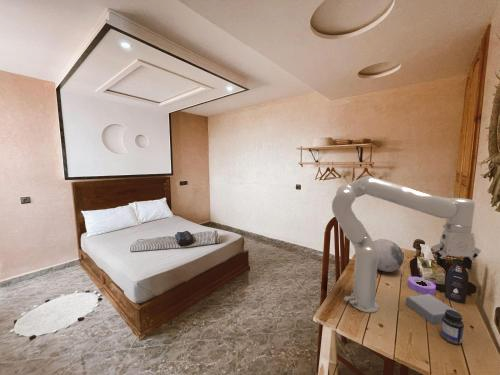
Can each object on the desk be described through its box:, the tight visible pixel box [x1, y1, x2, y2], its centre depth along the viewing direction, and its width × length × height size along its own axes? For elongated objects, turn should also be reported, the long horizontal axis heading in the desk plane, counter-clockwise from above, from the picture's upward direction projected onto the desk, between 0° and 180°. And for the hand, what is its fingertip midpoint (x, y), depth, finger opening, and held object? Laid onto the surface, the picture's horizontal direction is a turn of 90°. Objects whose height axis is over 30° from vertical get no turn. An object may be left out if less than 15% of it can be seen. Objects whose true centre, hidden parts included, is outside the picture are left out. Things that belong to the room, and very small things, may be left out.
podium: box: [405, 294, 458, 325], centre depth 96 cm, size 13×13×4 cm
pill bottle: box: [440, 309, 465, 345], centre depth 81 cm, size 6×6×11 cm
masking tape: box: [407, 276, 437, 296], centre depth 114 cm, size 12×12×4 cm
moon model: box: [372, 238, 405, 273], centre depth 133 cm, size 20×20×20 cm
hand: (453, 267), depth 87 cm, fingers open, 9 cm apart
